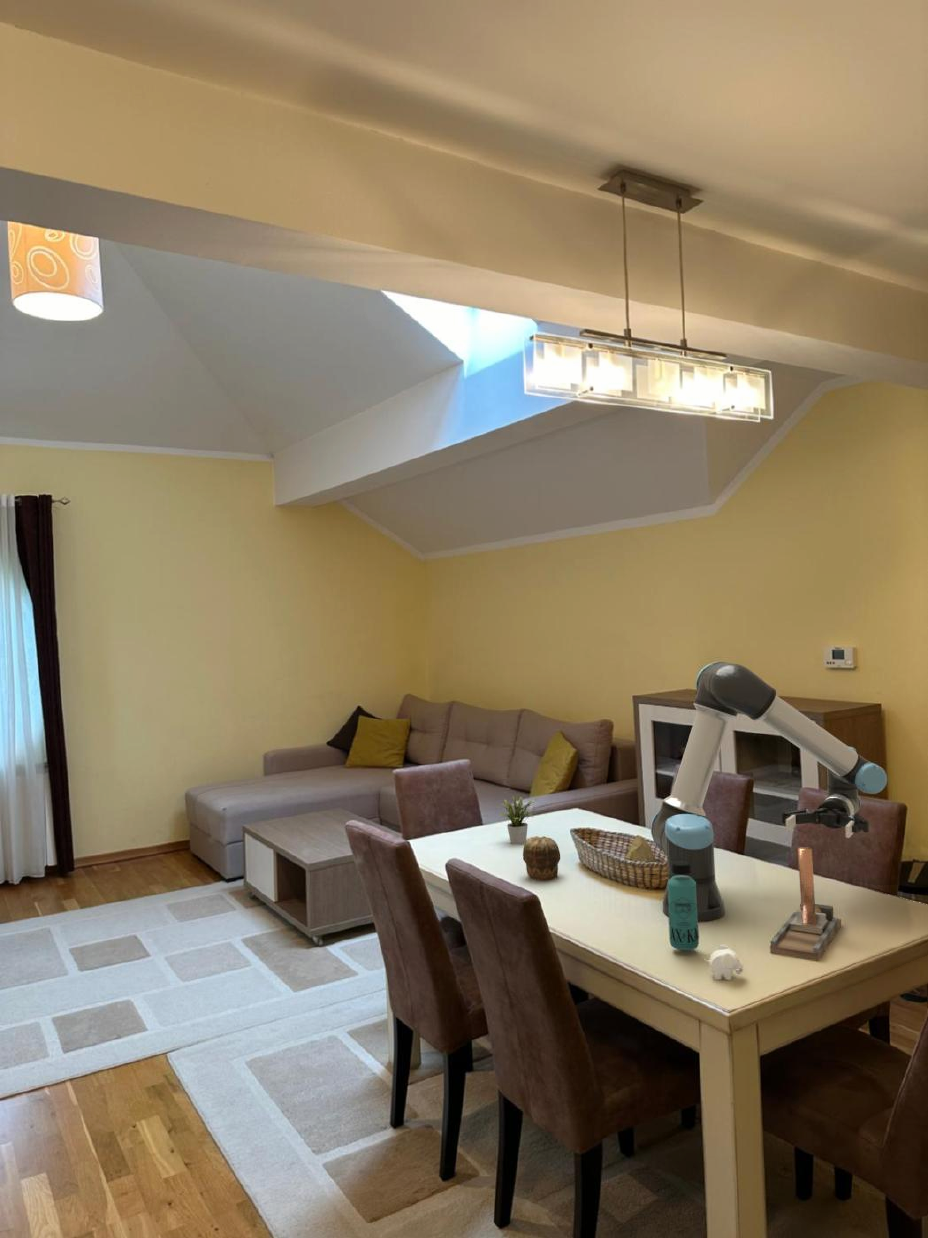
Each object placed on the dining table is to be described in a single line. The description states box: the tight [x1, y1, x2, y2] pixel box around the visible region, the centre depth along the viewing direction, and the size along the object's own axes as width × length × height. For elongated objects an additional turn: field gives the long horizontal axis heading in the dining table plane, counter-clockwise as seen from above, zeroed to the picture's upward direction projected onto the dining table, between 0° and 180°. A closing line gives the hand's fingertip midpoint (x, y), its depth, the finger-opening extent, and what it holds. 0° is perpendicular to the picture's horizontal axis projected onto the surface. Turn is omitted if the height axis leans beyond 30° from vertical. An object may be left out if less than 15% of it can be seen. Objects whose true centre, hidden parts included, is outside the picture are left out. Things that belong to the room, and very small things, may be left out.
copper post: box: [790, 846, 828, 934], centre depth 198 cm, size 6×7×18 cm
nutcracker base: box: [769, 903, 842, 962], centre depth 196 cm, size 24×10×5 cm, turn 145°
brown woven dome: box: [522, 835, 561, 882], centre depth 253 cm, size 11×11×12 cm
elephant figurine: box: [703, 944, 745, 981], centre depth 177 cm, size 7×8×6 cm
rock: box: [625, 834, 657, 863], centre depth 255 cm, size 11×9×10 cm
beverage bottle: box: [666, 861, 700, 951], centre depth 192 cm, size 6×7×20 cm
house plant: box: [499, 795, 537, 845], centre depth 294 cm, size 14×14×16 cm
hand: (816, 829), depth 206 cm, fingers open, 13 cm apart
